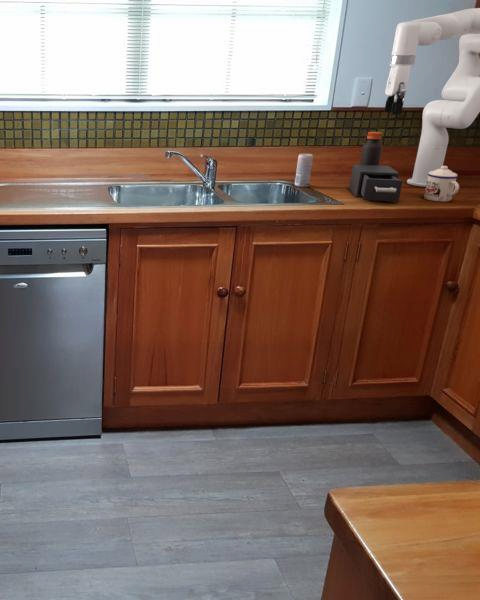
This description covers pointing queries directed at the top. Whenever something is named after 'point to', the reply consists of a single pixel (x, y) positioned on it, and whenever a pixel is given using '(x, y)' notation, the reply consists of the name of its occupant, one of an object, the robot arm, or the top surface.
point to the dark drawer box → (367, 169)
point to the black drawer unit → (380, 187)
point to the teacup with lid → (441, 185)
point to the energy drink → (303, 170)
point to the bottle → (372, 149)
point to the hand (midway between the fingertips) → (392, 113)
